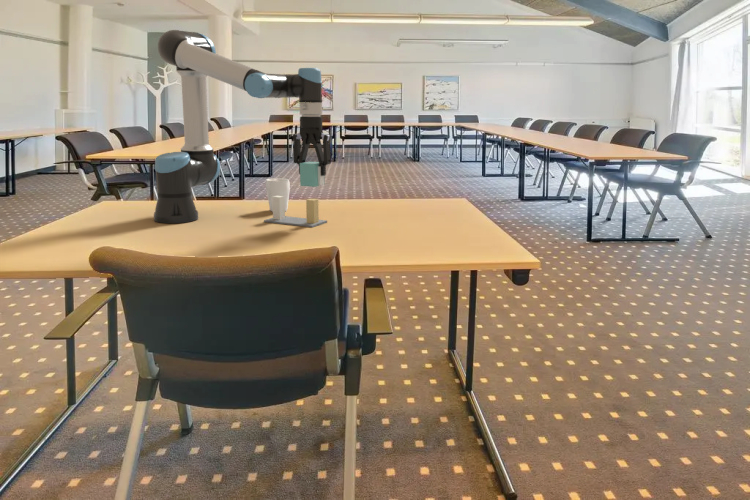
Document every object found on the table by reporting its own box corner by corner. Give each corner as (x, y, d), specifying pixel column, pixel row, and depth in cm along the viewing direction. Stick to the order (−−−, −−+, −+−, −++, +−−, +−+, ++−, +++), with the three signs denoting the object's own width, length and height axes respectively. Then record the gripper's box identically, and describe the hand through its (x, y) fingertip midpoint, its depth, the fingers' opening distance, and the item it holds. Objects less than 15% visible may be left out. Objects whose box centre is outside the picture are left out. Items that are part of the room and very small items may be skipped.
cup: (285, 213, 239) (285, 181, 236) (263, 212, 241) (262, 180, 238) (293, 209, 248) (292, 178, 245) (271, 208, 249) (270, 177, 246)
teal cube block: (300, 185, 215) (299, 163, 213) (309, 183, 220) (309, 161, 218) (315, 186, 212) (315, 163, 211) (324, 184, 218) (324, 162, 216)
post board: (263, 221, 222) (263, 197, 220) (279, 217, 231) (279, 193, 229) (312, 227, 214) (312, 202, 212) (327, 222, 223) (327, 198, 221)
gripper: (280, 115, 211) (283, 184, 217) (330, 116, 203) (331, 187, 209) (293, 115, 218) (295, 181, 224) (341, 115, 210) (342, 184, 216)
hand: (312, 184), depth 216 cm, fingers closed on teal cube block, 6 cm apart
